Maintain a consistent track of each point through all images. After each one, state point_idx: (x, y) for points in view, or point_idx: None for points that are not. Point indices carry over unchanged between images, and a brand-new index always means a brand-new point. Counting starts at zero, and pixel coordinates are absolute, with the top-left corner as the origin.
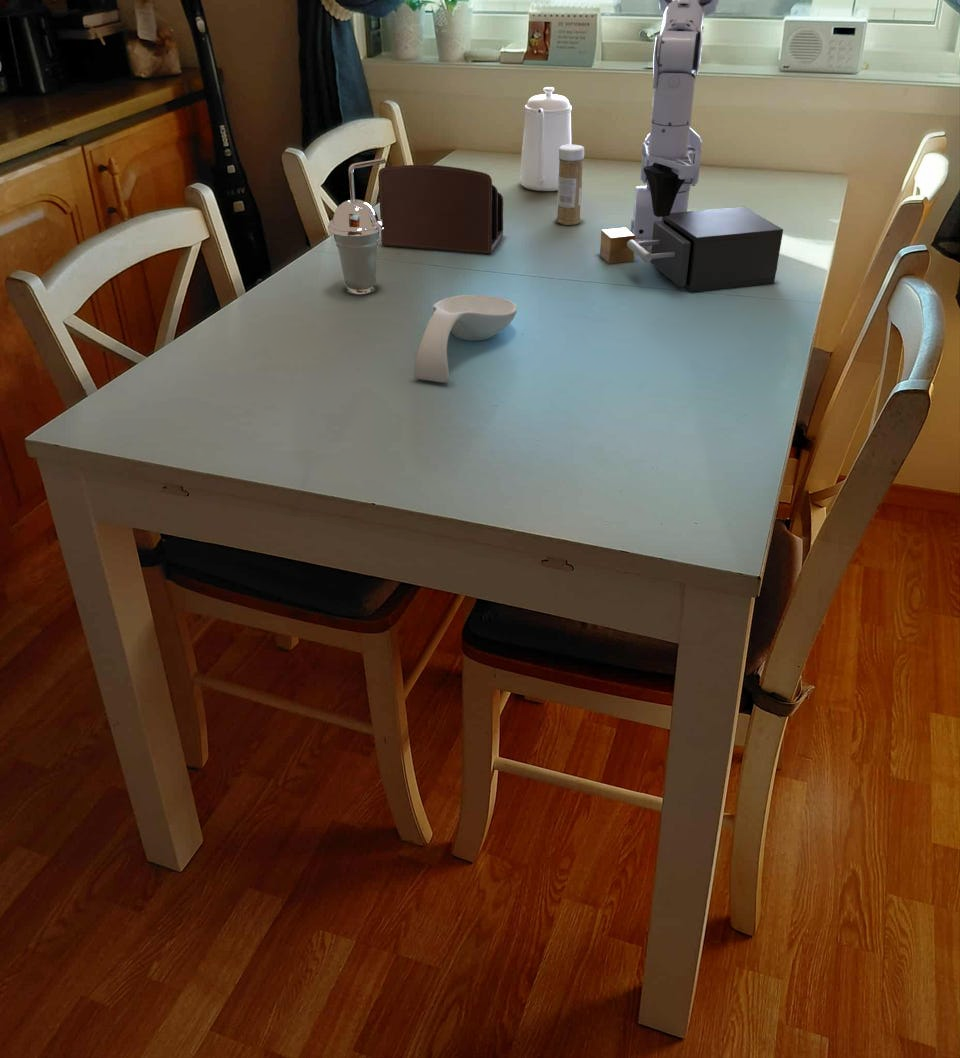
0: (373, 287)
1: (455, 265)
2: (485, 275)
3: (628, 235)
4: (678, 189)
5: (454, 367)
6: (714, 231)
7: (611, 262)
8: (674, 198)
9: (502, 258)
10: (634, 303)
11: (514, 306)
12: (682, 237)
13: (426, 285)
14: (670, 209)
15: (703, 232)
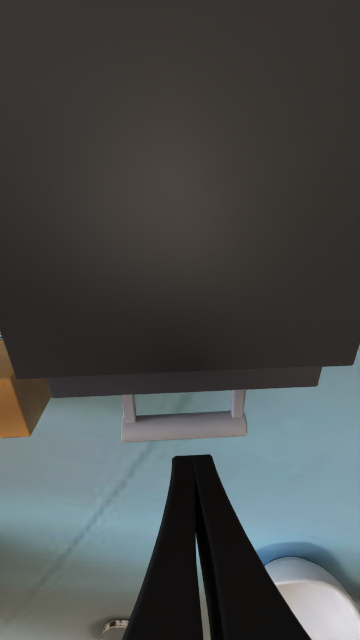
0: (125, 625)
1: (43, 566)
2: (92, 545)
3: (9, 395)
4: (287, 606)
5: (355, 584)
6: (324, 266)
7: None
8: (247, 537)
9: (12, 522)
10: (280, 405)
11: (314, 583)
12: (261, 371)
13: (119, 589)
14: (218, 480)
15: (313, 319)
